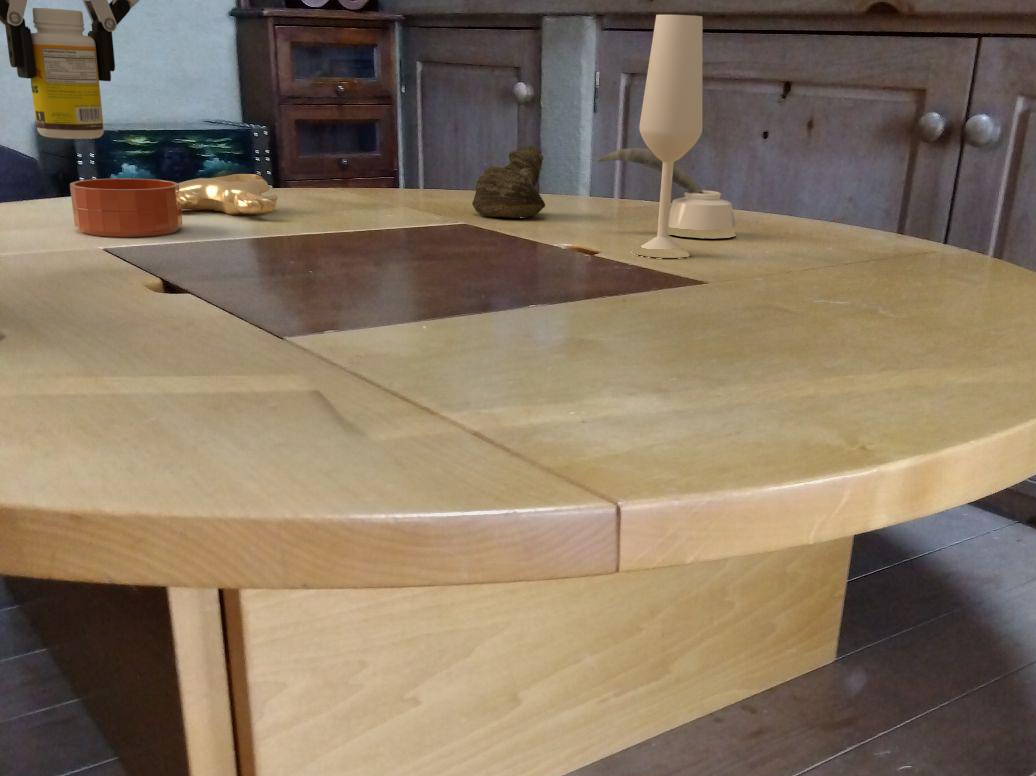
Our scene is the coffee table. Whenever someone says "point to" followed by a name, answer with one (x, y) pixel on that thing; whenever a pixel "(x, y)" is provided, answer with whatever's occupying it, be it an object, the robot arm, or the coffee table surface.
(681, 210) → the inkwell
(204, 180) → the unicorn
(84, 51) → the supplement bottle
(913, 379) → the coffee table surface
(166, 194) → the bowl
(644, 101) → the champagne flute
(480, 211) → the brown irregular lump
